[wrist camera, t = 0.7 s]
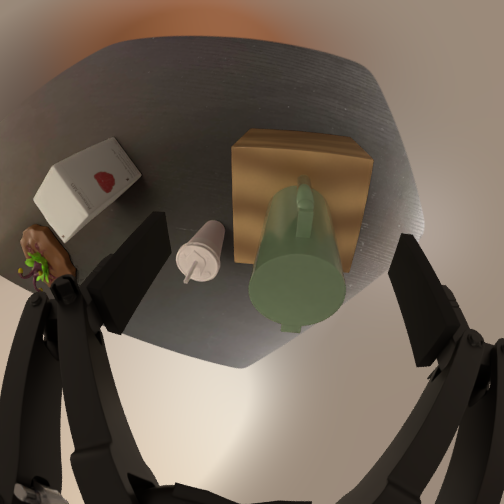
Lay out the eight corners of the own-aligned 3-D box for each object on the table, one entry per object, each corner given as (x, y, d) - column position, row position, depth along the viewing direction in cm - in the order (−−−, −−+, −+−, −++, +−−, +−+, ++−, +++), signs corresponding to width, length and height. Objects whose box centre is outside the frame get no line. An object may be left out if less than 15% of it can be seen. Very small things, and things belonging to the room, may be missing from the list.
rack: (250, 128, 35) (231, 146, 25) (350, 137, 33) (374, 159, 23) (249, 216, 43) (234, 262, 33) (337, 224, 41) (349, 272, 31)
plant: (45, 213, 49) (14, 239, 40) (85, 277, 59) (61, 307, 50) (19, 235, 56) (-5, 257, 46) (53, 287, 65) (33, 312, 56)
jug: (267, 159, 25) (248, 214, 15) (337, 166, 24) (365, 225, 15) (264, 248, 31) (248, 331, 21) (323, 254, 30) (331, 338, 21)
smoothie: (231, 213, 43) (206, 266, 32) (234, 246, 47) (213, 305, 35) (193, 212, 44) (158, 263, 32) (198, 245, 47) (169, 300, 36)
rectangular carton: (144, 175, 41) (90, 217, 29) (114, 201, 45) (64, 246, 33) (114, 134, 37) (51, 164, 25) (87, 164, 41) (31, 200, 29)
